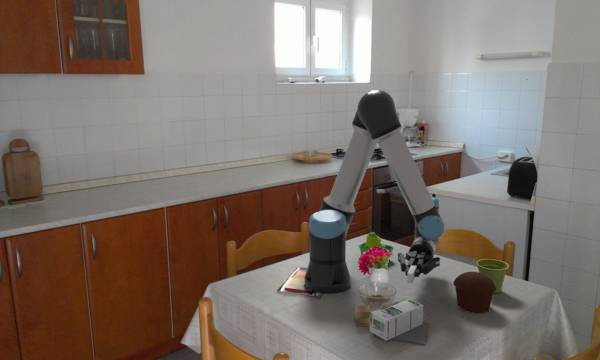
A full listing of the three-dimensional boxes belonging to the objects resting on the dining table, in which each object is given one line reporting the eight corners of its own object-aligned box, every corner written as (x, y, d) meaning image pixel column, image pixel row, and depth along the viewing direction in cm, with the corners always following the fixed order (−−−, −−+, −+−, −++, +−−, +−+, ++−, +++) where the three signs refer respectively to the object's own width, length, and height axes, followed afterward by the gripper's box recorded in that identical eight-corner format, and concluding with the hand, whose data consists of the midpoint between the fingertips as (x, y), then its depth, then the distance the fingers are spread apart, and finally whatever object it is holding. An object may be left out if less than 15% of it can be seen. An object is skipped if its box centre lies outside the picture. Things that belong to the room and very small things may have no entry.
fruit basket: (394, 259, 180) (395, 230, 178) (381, 266, 173) (382, 236, 171) (368, 253, 187) (369, 225, 185) (355, 259, 181) (355, 230, 179)
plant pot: (502, 299, 145) (504, 271, 144) (470, 291, 151) (472, 265, 150) (510, 288, 153) (512, 262, 151) (480, 282, 158) (481, 256, 157)
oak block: (356, 326, 130) (356, 312, 129) (354, 319, 134) (354, 305, 133) (370, 325, 130) (371, 312, 129) (368, 318, 134) (368, 305, 133)
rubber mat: (376, 337, 124) (376, 335, 124) (385, 316, 135) (385, 315, 135) (424, 345, 120) (424, 343, 120) (429, 323, 131) (429, 322, 131)
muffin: (497, 303, 143) (499, 271, 141) (492, 318, 133) (494, 284, 131) (456, 295, 148) (457, 264, 146) (448, 309, 139) (450, 276, 137)
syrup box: (423, 304, 128) (385, 319, 120) (422, 325, 129) (385, 341, 121) (407, 297, 133) (369, 311, 124) (406, 317, 134) (368, 332, 125)
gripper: (442, 265, 153) (433, 294, 131) (401, 260, 158) (386, 287, 136) (443, 242, 152) (434, 268, 130) (401, 238, 156) (386, 262, 135)
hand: (409, 278), depth 133 cm, fingers closed
